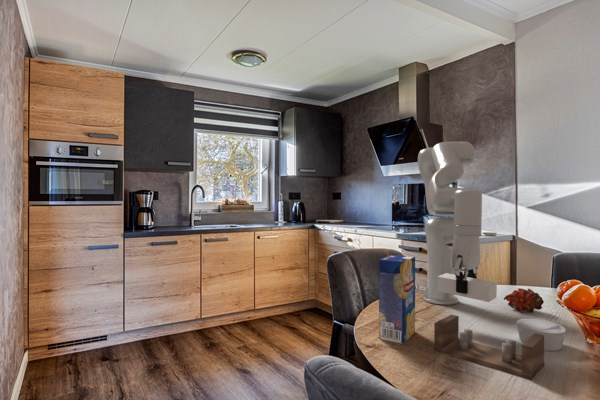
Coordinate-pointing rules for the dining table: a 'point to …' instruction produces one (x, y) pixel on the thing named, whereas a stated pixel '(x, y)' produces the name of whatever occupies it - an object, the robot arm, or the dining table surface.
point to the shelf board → (475, 287)
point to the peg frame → (489, 349)
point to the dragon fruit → (524, 300)
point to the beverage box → (396, 298)
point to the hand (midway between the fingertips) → (466, 290)
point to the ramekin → (542, 332)
